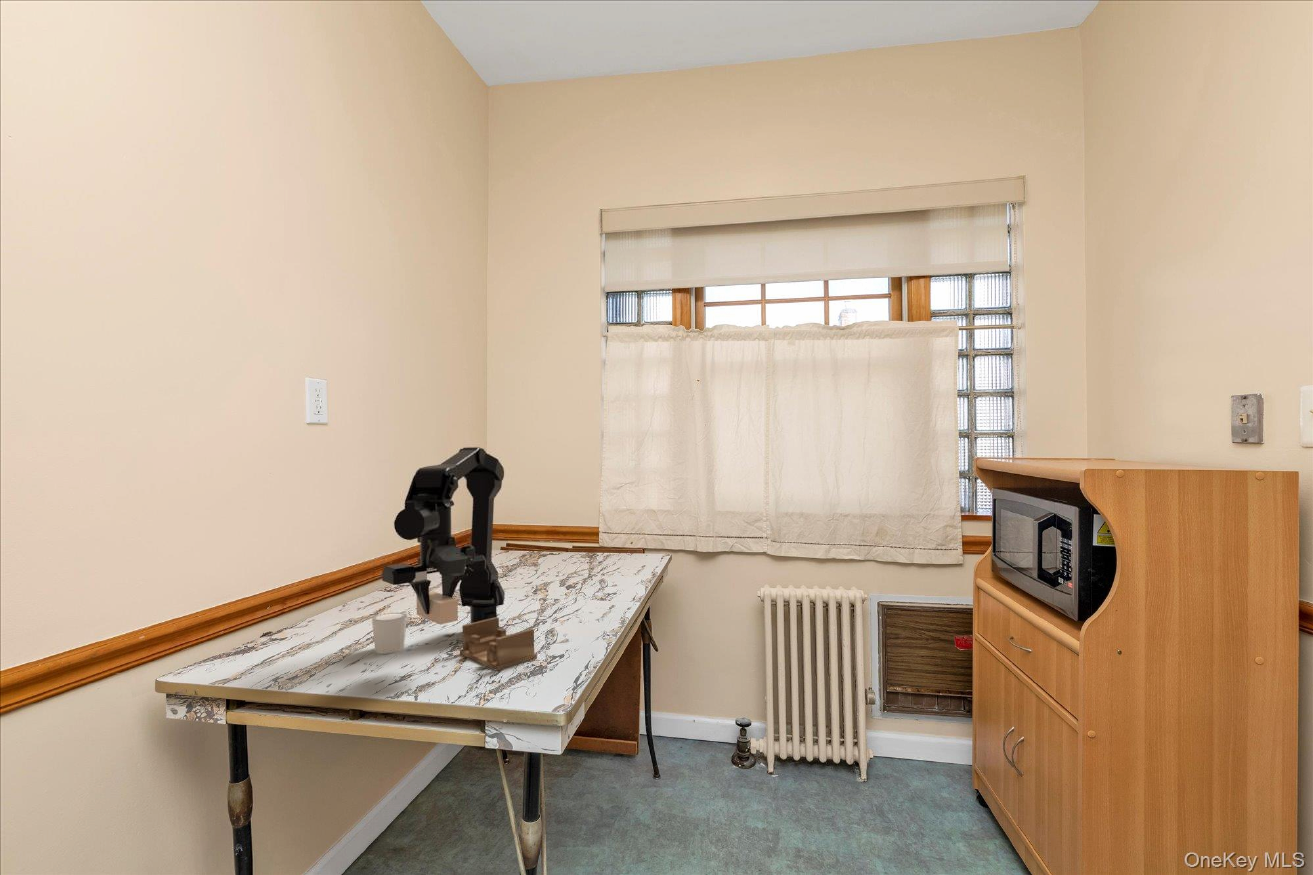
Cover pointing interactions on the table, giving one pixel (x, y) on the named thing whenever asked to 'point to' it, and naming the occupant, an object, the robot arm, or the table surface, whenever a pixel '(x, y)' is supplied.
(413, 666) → the table surface
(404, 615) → the white tapered cup
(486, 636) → the rack
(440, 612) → the tan rectangular block
